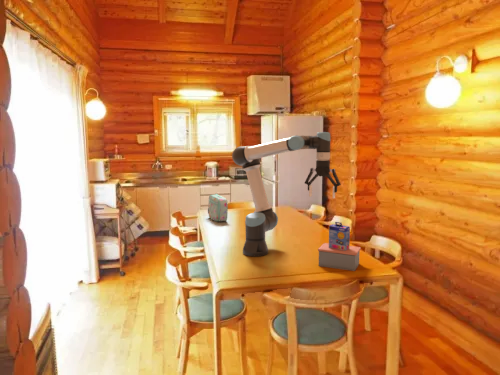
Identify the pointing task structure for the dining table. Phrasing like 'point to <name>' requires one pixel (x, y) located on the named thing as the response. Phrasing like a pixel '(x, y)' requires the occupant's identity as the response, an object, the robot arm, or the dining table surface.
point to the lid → (350, 251)
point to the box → (338, 260)
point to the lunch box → (217, 208)
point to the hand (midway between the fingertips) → (321, 197)
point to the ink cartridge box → (339, 236)
